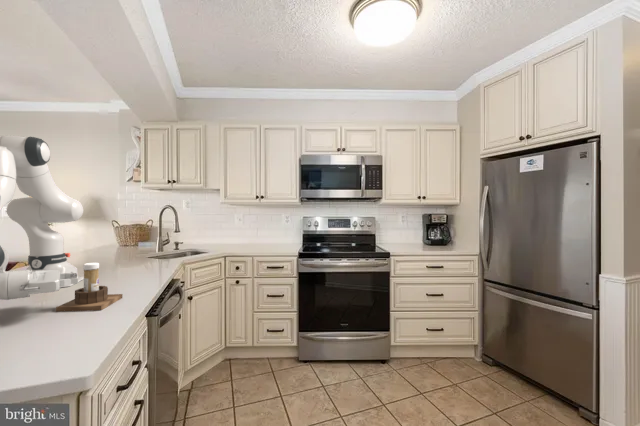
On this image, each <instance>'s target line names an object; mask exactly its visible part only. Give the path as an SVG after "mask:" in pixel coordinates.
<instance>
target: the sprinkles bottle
mask: <svg viewBox="0 0 640 426" xmlns="http://www.w3.org/2000/svg"><path fill="white" fill-rule="evenodd" d="M82 267H83V277H84V279H83V288H84V292H92V291H97V290H99V286H100V276H99V275H100V273H99V269H100V263H99V262H87V263H84V264H83V266H82Z"/></svg>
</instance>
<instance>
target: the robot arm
mask: <svg viewBox="0 0 640 426" xmlns="http://www.w3.org/2000/svg"><path fill="white" fill-rule="evenodd" d="M50 158H51V150H50V147H49V145H48V143H47V142H46V141H44V139H42V138H39V137H34V136H22V135H12V134H5V135H0V212H1V210H2V208H3V207H4V206H5V205H7V206H6V214H7V216H8V218H9V219H10V220H12V221H13V222H15V223H17V224H18V225H19V226H20V227H21V228H22V229H23V230H24V231H25V233H26V235H27V238H28V244H29V245H28V246H29V248H28V249H29V255H28V259H27V263H28V265H29V266H27V268H26V269H23V270H21V269H20V270H10V271H7V270H6V269H7V266H8V263H9V262H10V255H9V253H8V251H7V250H6V249H5V248H3V247H2V246H1V245H0V300H1V301H3V300H5V301H9V300H10V301H11V300H17V299H25V298H30V296H31V295H35V294H36V295H38V294H47V293H55V292H58V291H60V289H61V288H67V287H72V286H74V285H75V284H78V283H79V282H81V281H84V276H80V275H78V268H77V267H76V266H75V265H73V264H72V263H70V262H69V261H68V258H71V252H64V251H65V248H64V247H65V246H64V244H65V243H64V242H65V239H64V236H63V235H62V233H60V232H58V231H56V230H53V229H52V228H51V227H50V225H49V224H51V223H57V224H58V223H61V224H62V223H63V224H65V223H71V222H76V221H78V220H80V219H81V218H82V216H83V214H84V207H83V204H82V203H81V201H79V200H78V199H76V198H74V197H71V196H69V195H68V194H67V193H65V192H64V191H63V190H62V189H60V187H59V186H58V185H57V184H56V182H55V179H54V178H53V177H54V176H53V175H52V173H51V170H50V167H49V165H48V162H49V161H50ZM16 186H17V187H18V190H19V191H20V192H21V193H23V194H24V195H26V196H25V197H20V198H19V197H18V198H14V196H15V195H14V194H15V191H16Z"/></svg>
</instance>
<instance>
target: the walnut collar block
mask: <svg viewBox="0 0 640 426" xmlns="http://www.w3.org/2000/svg"><path fill="white" fill-rule="evenodd" d="M108 289H109V288H108V286H105V285H99V290H97V291H92V292H84V287H82V288H78V289H75V290H74V299H72V300H69V301H67V302H65V303H63V304H60V305H58V306H56V307H55V312H58V313H60V312H61V313H62V312H85V311H86V312H87V311H88V312H89V311H93V312H94V311H95V312H96V311H102V310H104V309H106V308H108V307H110V306H111V305H113V304H114V303H117V302H118V301H120V300H121V299H123V293H115V294H108V293H109V291H108Z"/></svg>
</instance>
